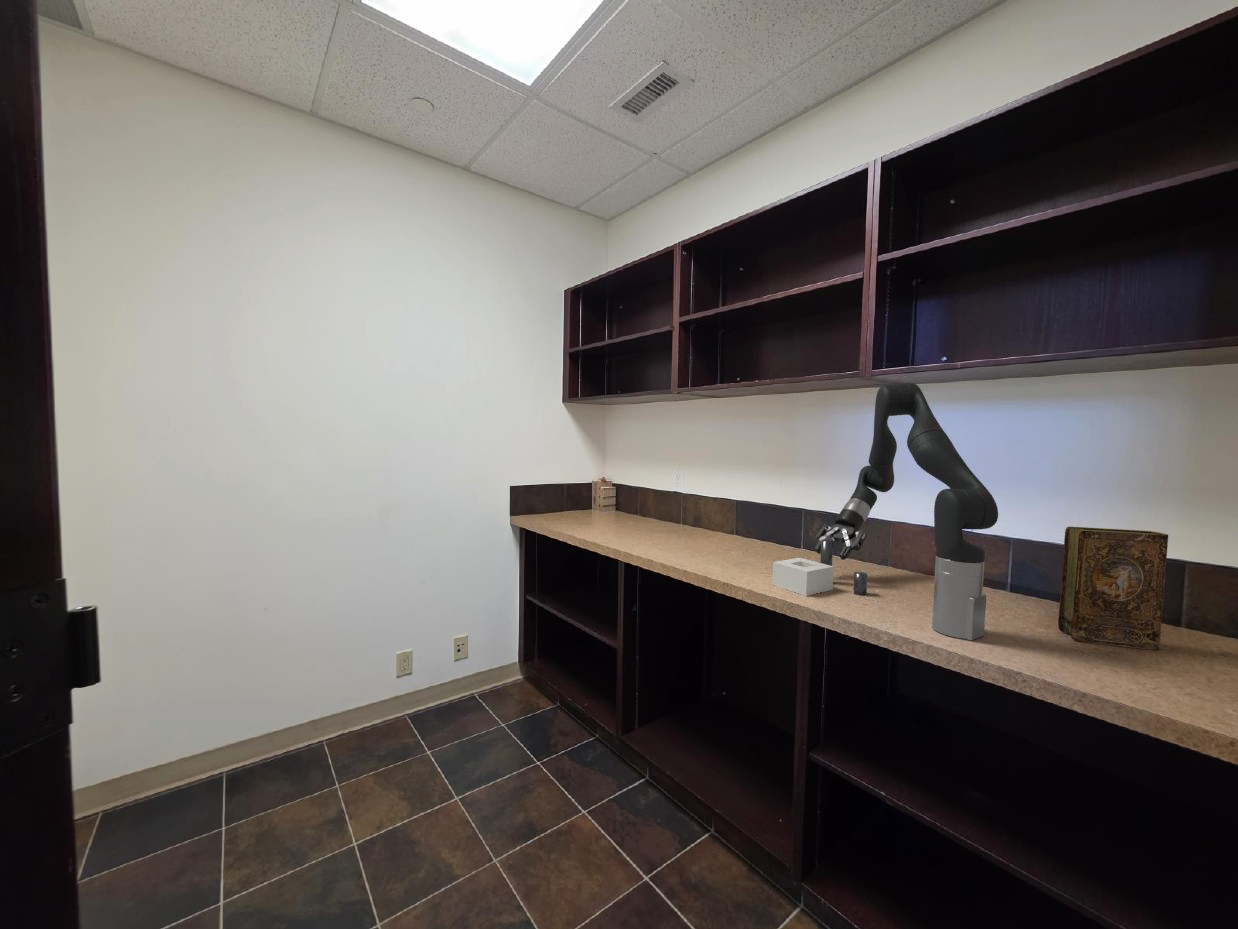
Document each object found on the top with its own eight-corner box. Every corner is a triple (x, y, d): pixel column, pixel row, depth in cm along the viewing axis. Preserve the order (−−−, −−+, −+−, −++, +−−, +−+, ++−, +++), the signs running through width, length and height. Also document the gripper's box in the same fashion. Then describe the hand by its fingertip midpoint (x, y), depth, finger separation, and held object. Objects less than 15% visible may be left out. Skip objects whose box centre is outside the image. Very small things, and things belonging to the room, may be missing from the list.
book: (1146, 641, 111) (1154, 531, 110) (1164, 651, 106) (1174, 535, 104) (1057, 631, 116) (1064, 526, 114) (1071, 641, 110) (1078, 530, 109)
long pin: (833, 583, 152) (835, 541, 151) (826, 584, 150) (828, 542, 150) (824, 580, 155) (825, 539, 154) (817, 581, 153) (818, 540, 153)
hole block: (832, 590, 145) (833, 566, 145) (806, 596, 139) (807, 571, 138) (798, 579, 155) (799, 557, 155) (772, 585, 149) (773, 562, 148)
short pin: (869, 594, 141) (870, 573, 141) (862, 596, 140) (862, 575, 139) (857, 591, 144) (858, 571, 144) (850, 593, 143) (851, 572, 142)
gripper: (828, 505, 163) (804, 543, 157) (869, 511, 151) (845, 552, 145) (837, 520, 166) (814, 557, 160) (879, 527, 154) (855, 568, 148)
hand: (829, 555), depth 153 cm, fingers open, 8 cm apart
